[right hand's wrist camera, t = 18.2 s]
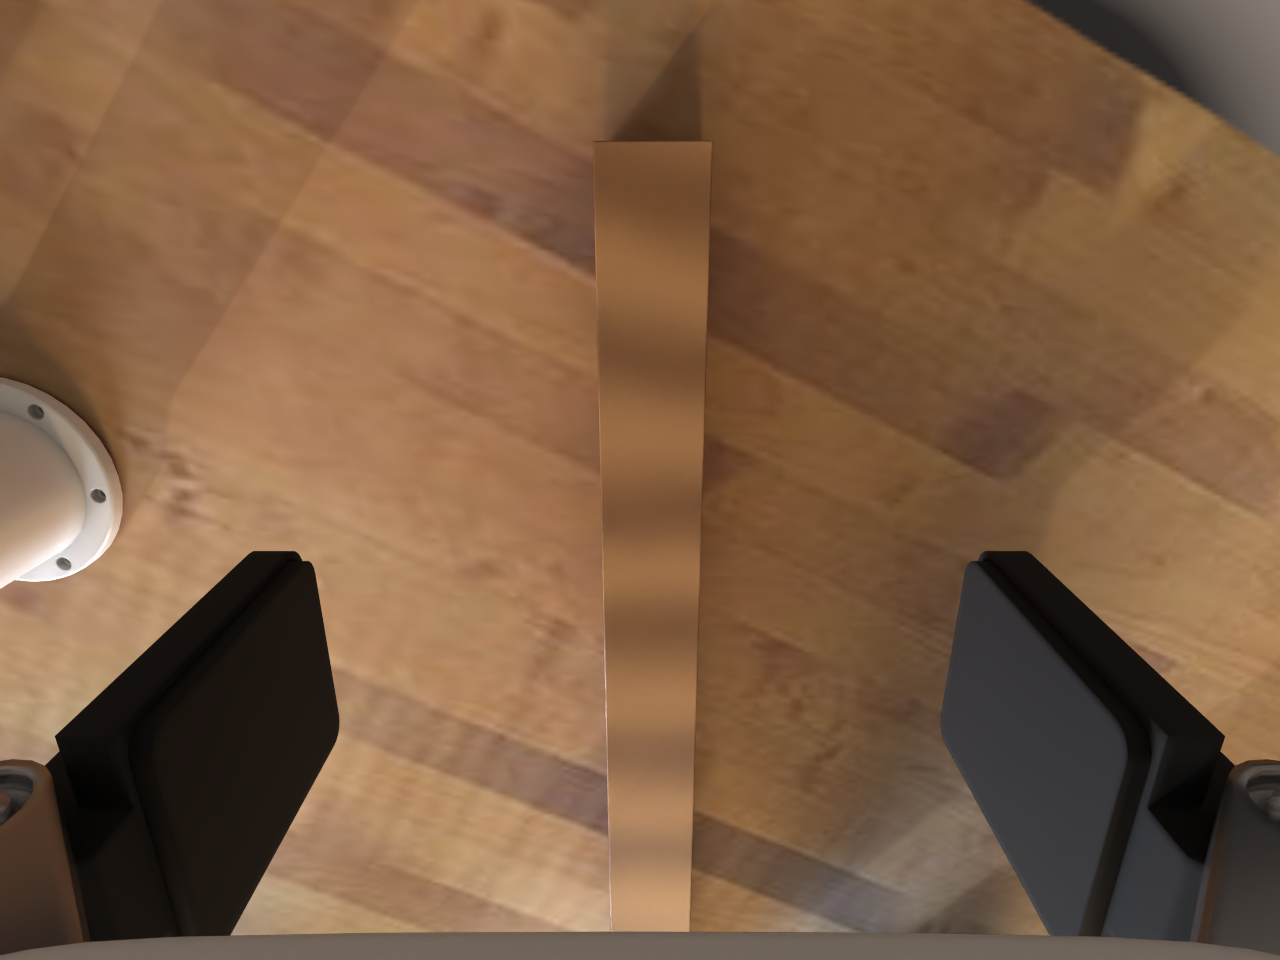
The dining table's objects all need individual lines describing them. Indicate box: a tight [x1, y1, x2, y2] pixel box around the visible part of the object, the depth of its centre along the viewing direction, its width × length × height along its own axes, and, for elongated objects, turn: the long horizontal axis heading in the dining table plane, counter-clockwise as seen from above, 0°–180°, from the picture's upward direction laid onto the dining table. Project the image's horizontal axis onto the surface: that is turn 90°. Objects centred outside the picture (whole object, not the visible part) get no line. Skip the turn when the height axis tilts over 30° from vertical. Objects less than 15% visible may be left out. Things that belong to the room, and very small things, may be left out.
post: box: [593, 141, 712, 932], centre depth 47 cm, size 63×5×7 cm, turn 0°
